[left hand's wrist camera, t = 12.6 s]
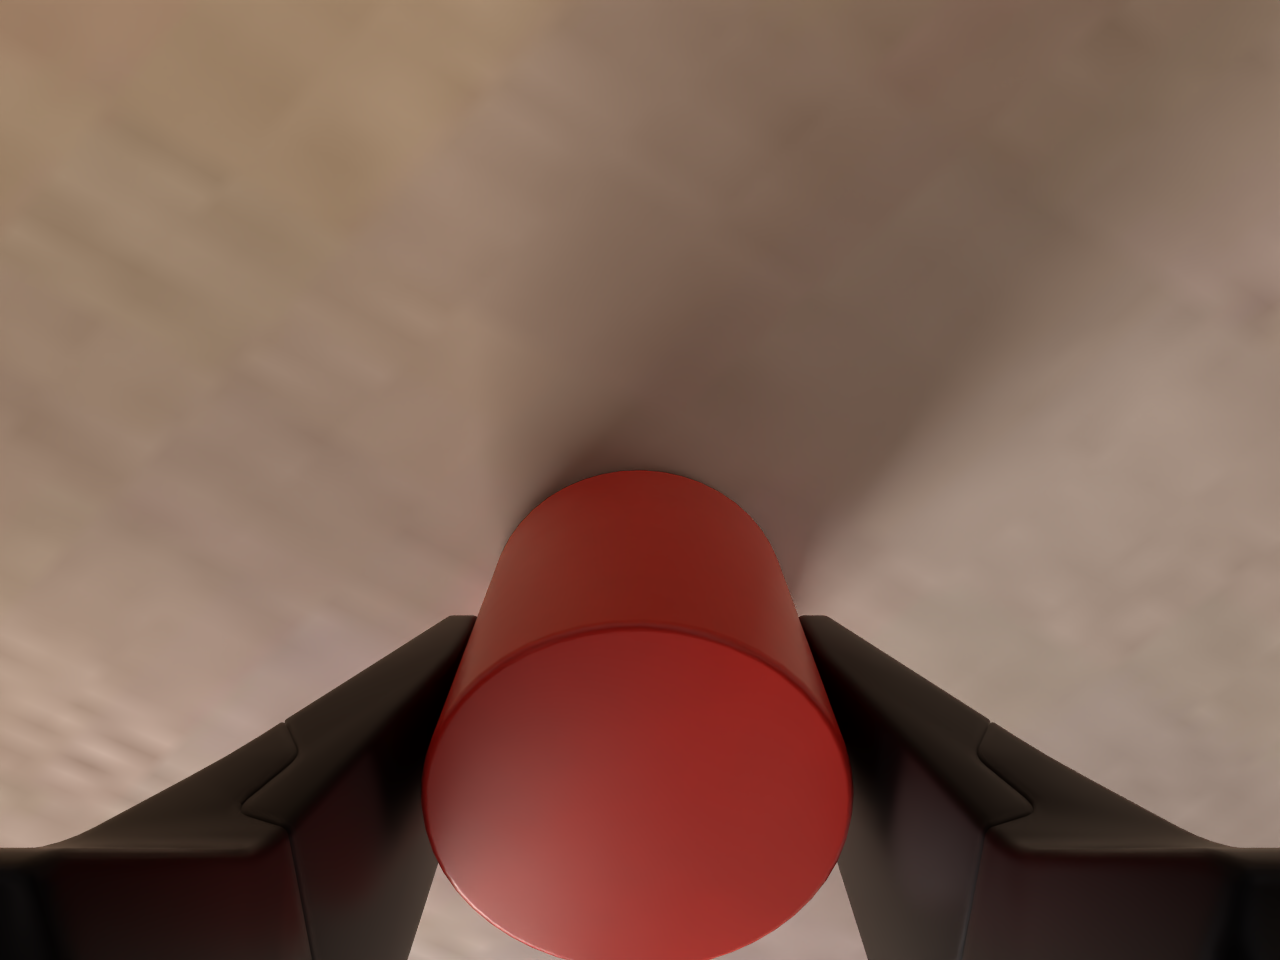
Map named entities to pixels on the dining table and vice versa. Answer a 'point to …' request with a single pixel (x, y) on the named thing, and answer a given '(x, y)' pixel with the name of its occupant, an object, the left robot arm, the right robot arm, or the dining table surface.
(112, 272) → the dining table surface
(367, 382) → the dining table surface
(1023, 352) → the dining table surface
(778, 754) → the canister
